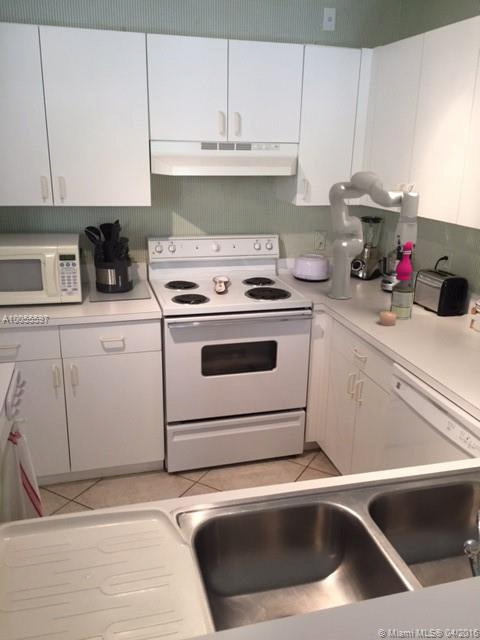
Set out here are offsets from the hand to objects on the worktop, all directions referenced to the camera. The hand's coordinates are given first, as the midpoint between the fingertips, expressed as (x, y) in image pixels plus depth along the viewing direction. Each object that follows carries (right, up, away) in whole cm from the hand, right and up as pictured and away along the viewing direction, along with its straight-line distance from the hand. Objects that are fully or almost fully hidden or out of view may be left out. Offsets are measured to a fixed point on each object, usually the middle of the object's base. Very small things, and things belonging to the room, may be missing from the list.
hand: (403, 259), depth 245 cm
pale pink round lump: (-9, -30, -3) cm, 31 cm away
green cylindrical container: (+1, -27, +8) cm, 28 cm away
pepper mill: (0, -9, +2) cm, 10 cm away
